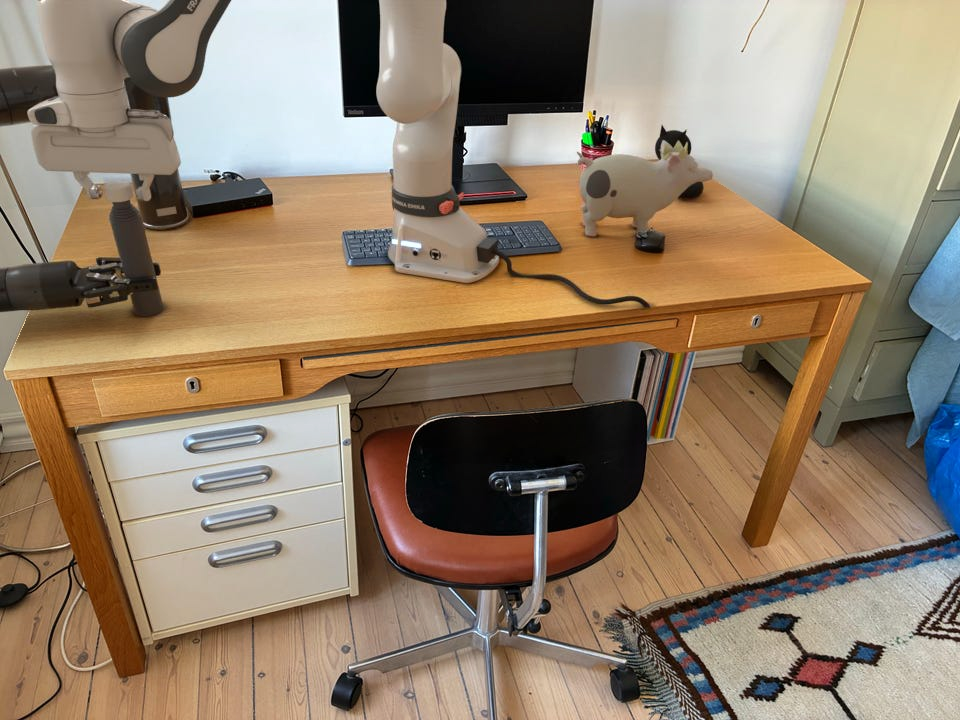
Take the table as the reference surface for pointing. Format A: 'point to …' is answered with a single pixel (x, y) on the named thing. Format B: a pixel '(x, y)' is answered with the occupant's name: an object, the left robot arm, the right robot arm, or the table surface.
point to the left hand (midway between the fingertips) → (158, 275)
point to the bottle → (135, 255)
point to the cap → (118, 191)
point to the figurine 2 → (672, 139)
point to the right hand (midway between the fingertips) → (120, 198)
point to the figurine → (635, 185)
